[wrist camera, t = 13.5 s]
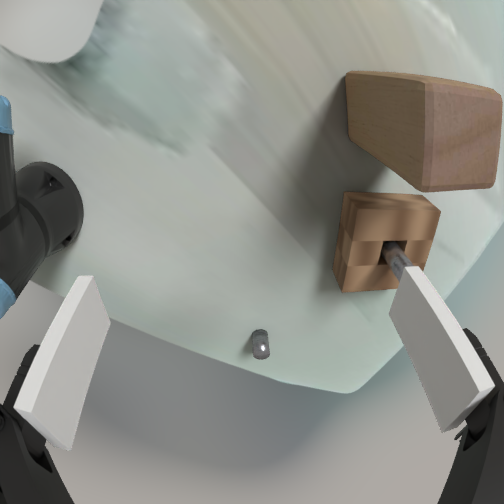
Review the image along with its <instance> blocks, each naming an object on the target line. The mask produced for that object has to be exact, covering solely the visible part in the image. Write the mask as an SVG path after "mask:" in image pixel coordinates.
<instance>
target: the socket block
mask: <svg viewBox="0 0 504 504" xmlns="http://www.w3.org/2000/svg"><path fill="white" fill-rule="evenodd" d="M440 213H441V211H440V210H439V209H438V208H437V207H435V206H434V205H433V204H432V203H431V202H430V201H428V200H427V199H426V198H425V197H424V196H423V195H413V194H394V193H370V192H344V196H343V204H342V211H341V218H340V225H339V232H338V239H337V245H336V251H335V257H334V263H333V269H332V270H333V272H334V275H335V277H336V280H337V282H338V284H339V287H340V289H341V292H342V293H343V292H358V291H372V290H386V289H398V286H399V281H398V280H397V278H396V276H395V275H394V273H393V272H392V270H391V269H390V267H389V266H388V264H387V262H386V261H385V259H384V258H383V256H382V255H381V249H382V244H383V241H396V243H397V244H398V245H399V247H400V248H401V249H402V251H403V252H404V253H405V254H406V256H407V257H408V258H409V260H410V261H411V262H412V264H413V265H414V266H419V267H420V269H421V270H422V271H423V270H424V267H425V264H426V261H427V258H428V255H429V252H430V248H431V245H432V242H433V238H434V235H435V232H436V228H437V225H438V221H439V217H440Z"/></svg>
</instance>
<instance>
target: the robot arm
mask: <svg viewBox="0 0 504 504" xmlns="http://www.w3.org/2000/svg"><path fill="white" fill-rule="evenodd" d="M13 135H14V131H13V129H12V119H11V105H10V102H9V100H8V99H7V98H6V97H4V96H2V95H0V319H1V318H2V317H3V316H4V315H5V313H6V312H7V311H8V309H9V308H10V307H11V306H12V305H13V304H14V303H15V301H16V299H17V298H18V296H19V295H20V293H21V292H22V290H23V289H24V287H25V286H26V284H27V283H28V281H29V280H30V278H31V277H32V276H33V274H34V273H35V271H36V270H37V269H38V267H39V266H40V264H41V263H42V262H43V260H44V259H45V258H46V257H48V256H50V255H52V254H54V253H56V252H58V251H60V250H62V249H64V248H65V247H67V246H68V245H69V244H70V243H71V242H72V241H73V239H74V238H75V237H76V235H77V234H78V233H79V231H80V229H81V226H82V222H83V204H82V200H81V196H80V194H79V191H78V189H77V187H76V185H75V184H74V182H73V181H72V179H71V178H70V177H69V176H68V175H67V174H66V173H65V172H64V171H63V170H62V169H60V168H59V167H57V166H55V165H53V164H50V163H47V162H34V163H31V164H29V165H27V166H25V167H24V168H22V169H21V170H19V171H18V172H17V173H16V174H15V165H14V150H13ZM389 316H390V318H391V320H392V322H393V324H394V326H395V328H396V330H397V332H398V334H399V336H400V338H401V340H402V342H403V344H404V346H405V348H406V350H407V352H408V355H409V357H410V359H411V361H412V363H413V365H414V368H415V370H416V372H417V374H418V376H419V379H420V381H421V383H422V386H423V388H424V390H425V392H426V395H427V397H428V400H429V402H430V405H431V407H432V409H433V412H434V414H435V417H436V419H437V422H438V424H439V427H440V430H441V432H442V433H443V432H446V431H448V430H451V429H454V428H457V427H458V426H459V425H460V424H461V423H462V422H463V421H464V420H466V423H467V425H466V427H464V428H463V429H462V430H461V431H460V432H459V433H458V434H457V435H456V437H455V439H454V440H457V439H458V438H459V437H460V436H461V435H462V437H461V440H460V445H459V447H458V451H457V454H456V457H455V460H454V463H453V466H452V469H451V471H450V474H449V477H448V479H447V482H446V484H445V487H444V489H443V492H442V494H441V497H440V499H439V501H438V504H504V382H503V381H502V379H501V377H500V376H499V374H498V372H497V370H496V368H495V367H494V365H493V363H492V361H491V360H490V358H489V356H487V353H486V351H485V350H484V348H482V345H481V343H480V342H479V340H478V339H477V337H476V336H475V335H474V334H473V333H472V332H470V330H468V329H467V328H465V329H462V328H461V327H460V325H459V324H458V322H457V320H456V319H455V317H454V316H453V314H452V313H451V311H450V310H449V309H448V307H447V305H446V304H445V302H444V301H443V300H442V298H441V297H440V295H439V294H438V292H437V291H436V289H435V288H434V287H433V285H432V284H431V282H430V281H429V280H428V278H427V277H426V276H425V274H424V273H423V271H422V270H421V269H420V267H419V266H412V267H404V270H403V273H402V276H401V279H400V283H399V286H398V289H397V292H396V295H395V297H394V300H393V303H392V306H391V309H390V312H389ZM110 324H111V323H110V320H109V317H108V315H107V312H106V310H105V307H104V304H103V302H102V299H101V296H100V293H99V291H98V288H97V285H96V282H95V279H94V276H78V277H77V279H76V281H75V282H74V284H73V286H72V288H71V289H70V291H69V293H68V294H67V296H66V298H65V300H64V302H63V303H62V305H61V307H60V309H59V311H58V312H57V315H56V316H55V318H54V320H53V322H52V324H51V326H50V328H49V330H48V331H47V334H46V335H45V337H44V339H43V341H42V343H41V345H34V346H33V347H32V348H31V349H30V350H29V351H28V352H27V353H26V354H25V356H24V358H23V361H22V363H21V367H19V369H18V371H17V375H16V376H15V378H14V380H13V382H12V384H11V387H10V389H9V391H8V394H7V396H6V399H5V401H4V403H3V405H1V404H0V504H74V502H73V500H72V499H71V497H70V495H69V493H68V491H67V489H66V487H65V485H64V483H63V481H62V479H61V477H60V475H59V473H58V471H57V469H56V467H55V465H54V463H53V460H52V458H51V456H50V454H49V451H48V450H47V449H46V447H45V443H46V440H47V441H49V442H50V443H51V444H52V445H53V446H55V447H58V448H62V449H65V450H69V451H71V449H72V445H73V441H74V437H75V433H76V429H77V425H78V422H79V418H80V414H81V411H82V408H83V404H84V401H85V398H86V394H87V391H88V388H89V385H90V381H91V378H92V375H93V372H94V369H95V366H96V363H97V360H98V357H99V354H100V351H101V348H102V345H103V343H104V340H105V337H106V334H107V332H108V329H109V326H110Z"/></svg>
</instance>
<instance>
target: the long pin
mask: <svg viewBox="0 0 504 504" xmlns="http://www.w3.org/2000/svg"><path fill="white" fill-rule="evenodd" d="M381 255H382V256H383V258H384V259H385V261H386V262H387V264H388V266H389V267H390V269H391V270H392V272H393V273H394V275H395V276H396V278H397V280H398V281H399V283H400V279H401V276H402V273H403V270H404V267H412V266H414V265H413V264H412V262H411V261H410V260H409V258H408V257H407V256H406V254H405V253H404V252H403V251H402V249H401V248H400V247H399V245H398V244H397V243H396V241H383V244H382V249H381Z"/></svg>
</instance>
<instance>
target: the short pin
mask: <svg viewBox="0 0 504 504" xmlns="http://www.w3.org/2000/svg"><path fill="white" fill-rule="evenodd" d="M252 342H253V356H254V357H255V358H256V359H266V358H268V357H269V355H270V351H269V342H268V334H267V332H266V331H265V330H262V329H259V330H256V331H254V332H253V333H252Z"/></svg>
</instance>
